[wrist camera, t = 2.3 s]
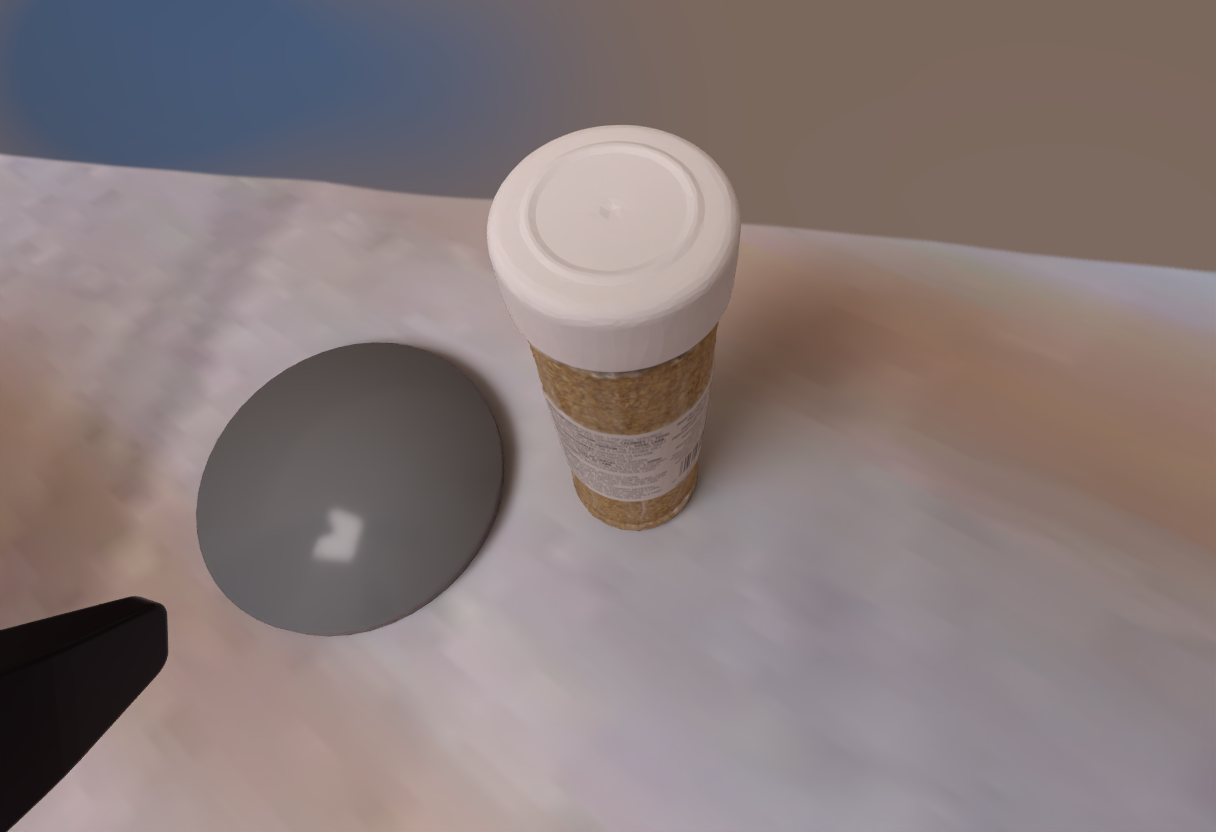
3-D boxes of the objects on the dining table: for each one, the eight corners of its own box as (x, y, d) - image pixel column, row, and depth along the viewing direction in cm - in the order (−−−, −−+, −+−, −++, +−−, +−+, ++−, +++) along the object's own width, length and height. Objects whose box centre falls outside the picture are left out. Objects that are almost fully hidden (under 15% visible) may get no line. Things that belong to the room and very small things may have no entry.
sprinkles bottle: (618, 396, 25) (581, 82, 12) (722, 456, 23) (794, 170, 11) (547, 491, 23) (426, 240, 11) (653, 561, 22) (649, 364, 10)
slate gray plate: (255, 701, 21) (241, 700, 20) (181, 433, 25) (167, 425, 24) (555, 533, 22) (552, 527, 22) (436, 310, 27) (430, 299, 26)
